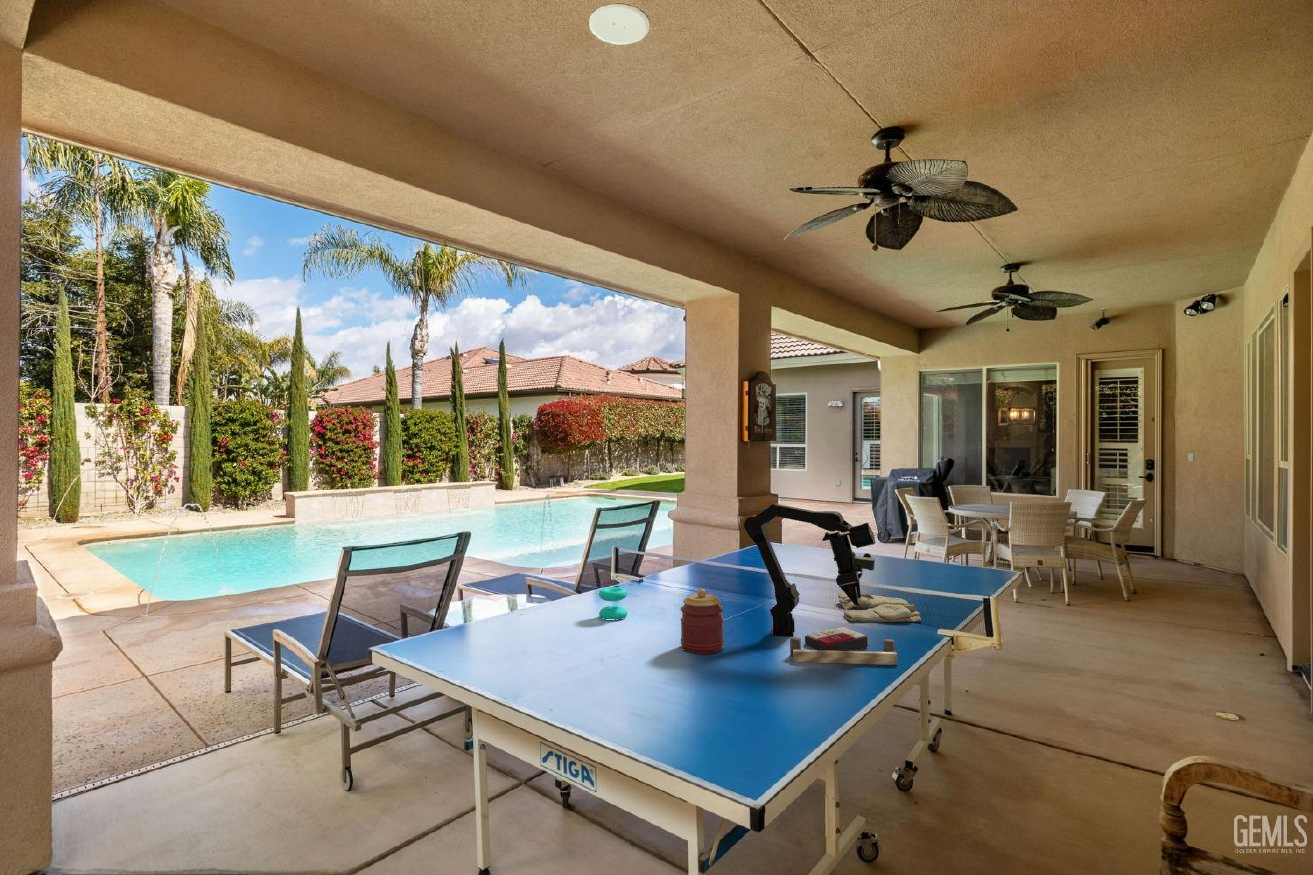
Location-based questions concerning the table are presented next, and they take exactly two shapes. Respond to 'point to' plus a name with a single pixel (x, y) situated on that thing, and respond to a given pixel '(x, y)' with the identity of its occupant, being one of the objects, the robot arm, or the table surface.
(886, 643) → the seat bracket
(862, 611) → the pair of gloves
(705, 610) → the canister
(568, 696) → the table surface
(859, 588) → the robot arm
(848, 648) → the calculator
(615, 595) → the donuts
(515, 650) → the table surface
